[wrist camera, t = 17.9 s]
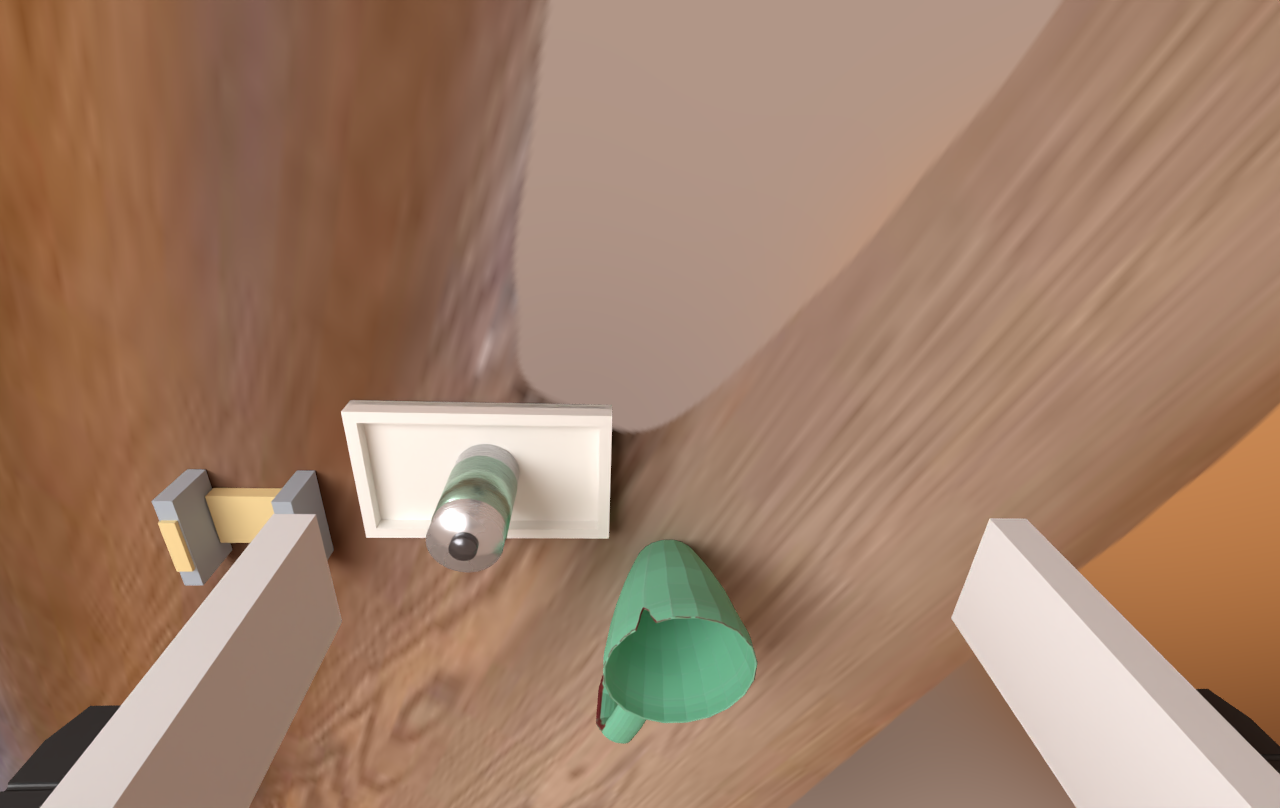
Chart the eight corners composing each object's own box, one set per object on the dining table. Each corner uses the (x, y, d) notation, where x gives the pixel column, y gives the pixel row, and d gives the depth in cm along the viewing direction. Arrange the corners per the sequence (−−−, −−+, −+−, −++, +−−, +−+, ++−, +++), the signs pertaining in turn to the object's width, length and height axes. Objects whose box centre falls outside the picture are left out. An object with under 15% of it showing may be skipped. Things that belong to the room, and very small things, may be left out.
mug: (641, 494, 44) (650, 596, 35) (753, 541, 46) (788, 647, 37) (555, 625, 49) (544, 742, 40) (659, 661, 52) (670, 778, 43)
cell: (451, 442, 40) (417, 518, 33) (519, 443, 41) (500, 518, 33) (457, 497, 42) (426, 579, 35) (521, 498, 43) (504, 580, 35)
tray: (350, 400, 39) (341, 411, 38) (612, 404, 40) (612, 416, 39) (374, 523, 44) (366, 537, 42) (608, 524, 45) (608, 538, 43)
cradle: (187, 469, 41) (148, 503, 37) (314, 470, 41) (288, 504, 38) (215, 549, 44) (182, 588, 41) (333, 550, 45) (310, 588, 41)
